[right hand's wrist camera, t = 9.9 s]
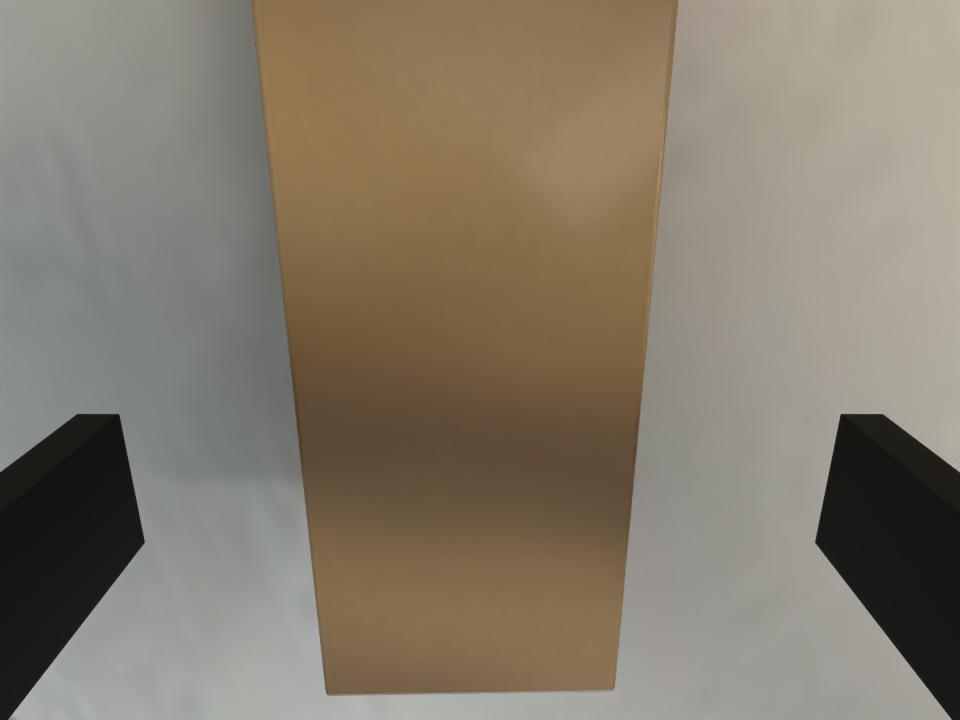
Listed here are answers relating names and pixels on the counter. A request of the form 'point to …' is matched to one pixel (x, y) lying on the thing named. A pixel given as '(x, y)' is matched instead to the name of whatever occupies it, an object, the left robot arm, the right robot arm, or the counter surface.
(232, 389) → the counter surface
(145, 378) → the counter surface
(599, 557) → the post
